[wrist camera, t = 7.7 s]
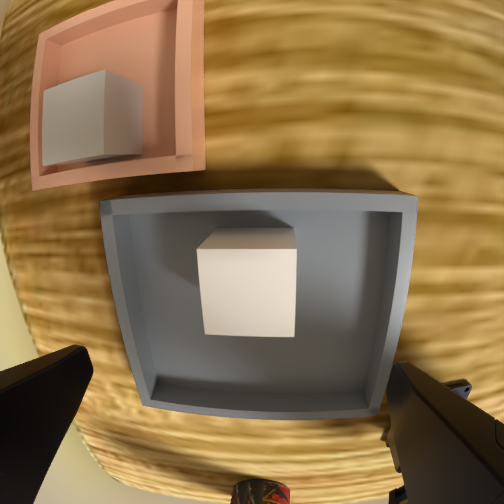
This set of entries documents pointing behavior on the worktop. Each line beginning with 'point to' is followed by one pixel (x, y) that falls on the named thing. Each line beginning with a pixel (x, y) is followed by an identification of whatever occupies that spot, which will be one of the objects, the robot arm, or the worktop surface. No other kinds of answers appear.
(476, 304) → the worktop surface
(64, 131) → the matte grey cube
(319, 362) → the bin
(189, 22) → the dish
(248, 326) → the beige cube
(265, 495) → the deodorant
